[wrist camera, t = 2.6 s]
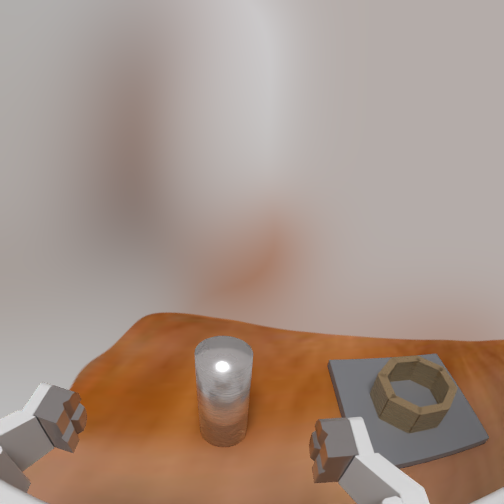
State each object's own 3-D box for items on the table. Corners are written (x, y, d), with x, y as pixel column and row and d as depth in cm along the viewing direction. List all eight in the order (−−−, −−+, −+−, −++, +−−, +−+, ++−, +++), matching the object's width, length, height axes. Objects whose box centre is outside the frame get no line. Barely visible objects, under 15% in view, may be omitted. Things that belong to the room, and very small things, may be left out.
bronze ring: (426, 372, 33) (434, 353, 32) (455, 422, 24) (467, 404, 23) (363, 378, 33) (370, 358, 31) (385, 437, 24) (396, 418, 23)
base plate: (433, 359, 36) (436, 353, 36) (484, 443, 22) (489, 437, 21) (327, 365, 36) (329, 359, 36) (356, 476, 21) (360, 471, 21)
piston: (246, 413, 29) (253, 337, 25) (246, 448, 25) (253, 374, 21) (202, 411, 29) (199, 334, 25) (197, 444, 24) (190, 369, 21)
